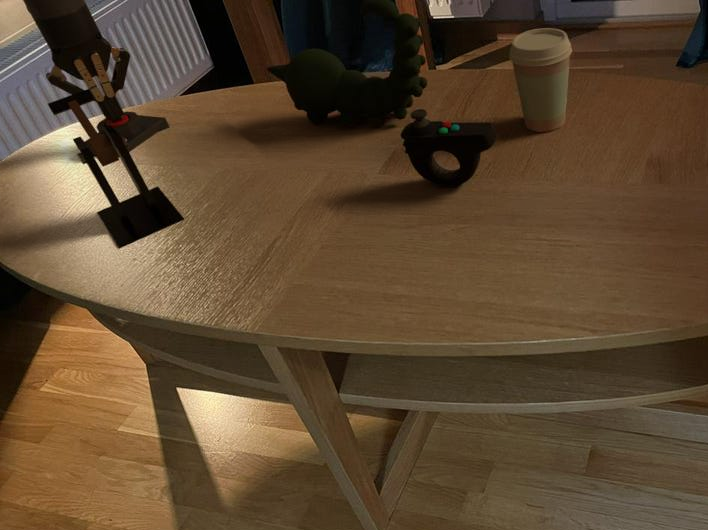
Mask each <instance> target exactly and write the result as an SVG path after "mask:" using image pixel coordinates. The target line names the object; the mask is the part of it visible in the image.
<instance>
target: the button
mask: <svg viewBox="0 0 708 530" xmlns="http://www.w3.org/2000/svg"><path fill="white" fill-rule="evenodd" d="M121 118H122V120H120V121H117V122H115V123H113V121H112V120H107V121H106V126H109V125H112V126H113V127H115V126H119V125H122V124H124V123H126V122H127V121H129V118H128V116H127V115H122V116H121Z"/></svg>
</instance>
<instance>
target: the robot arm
mask: <svg viewBox="0 0 708 530" xmlns="http://www.w3.org/2000/svg"><path fill="white" fill-rule="evenodd" d="M22 1H23V3H24V5H25V9H26V10H27V12H28V13H29V14H30V16H31V17H32V19H33V21H34V23H35V25H36V27H37V28H38V30H39V32H40V34H41V36H42V37H43V39H44V41H45V43H46V44H47V46H48V48H49V50H50V52H51V60H52V63H53V67H52V68H51V70H50V72H47V73H46V74H45V78H46V79H47V81H48V82H49V83H50V84H51V86H54V87H56V88H58V89H60V90H62V91H64V92H66V93H68V94H70V95H73V94H76V93H78V92H81V91H84V90H85V89H84V88H82V87H79V86H77V85H76V84H74V83H72V82H70V81H68V80H67V76H66V74H68V75H70V76H72V77H74V78H75V79H76V80H80V81H83V83H84V84H85V86H86V87H87V89H89V90H90V91H91V93H92V95H93V97H94V99H95V101H94V102H96V104H97V106H98V107H99V110H100V111H101V113H102V115H103V116H104V119H105V118H106V119H108V120H112V121H113V123H115V122H117V121H120V120H122V118H121V116H122V115H123V112H124V111H123V109H122V106H121V104H120V103H119V101H118V99H117V95H116V94H117V92H119V91H122V90H123V89H124V87H125V82H126V79H127V78H126V77H127V73H128V69H129V64H130V60H131V54H130V52H129V51H128V50H127V49H125V48H124V47H117V46H113V45H111V43H110V42H109V41H108V40H107V39H106V38H105V37H104V36H103V35H102V33H101V31H100V28H99V27H98V25H97V23H96V21H95V19H94V17H93V14H92V13H91V10H90V9H89V6H88V5H87V2H86V1H85V0H22ZM111 58H112V60H113V61H114V62H115V63H114V67H113V72H112V77H111V80H110V78H109V75H108V73H107V71H108V69H109V65H110V59H111ZM62 71H63V72H65V73H66V74H64V73H63V72H62ZM95 77H96V80H97V81H98V83H99V85H100V88H101V89H100V88H99V87H98V85H97V83H96V81H95V80H94V78H95ZM101 90H102V91H101ZM102 92H103V93H102Z"/></svg>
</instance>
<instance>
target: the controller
mask: <svg viewBox="0 0 708 530" xmlns="http://www.w3.org/2000/svg"><path fill="white" fill-rule="evenodd" d="M427 116H428V112H427V110H425V109H424V108H418V109H415V110H412V111H411V113H410V117H411V119H412V120H414V121H413V122H410V123H407V124H406V125H405V126H404V127H403V129H402V131H401V133H400V138H401V139H402V140H403V142H402V147H404V148H405V150H404V153H405V154H407V156H408V158H409V161H410V163H411V165H412V167H413V168H414V170H415V171H416V173H418V175H420V176H421V177H422V178H423V179H424V180H426V181H427V182H429V183H431V184H433V185H436V186H439V187H443V188H451V187H458V186H461V185H463V184H464V183H466V182H468V181H469V180H470V179H471V178H472V177H473V176H474V174H476V171H477V169H478V167H479V164H480V161H481V156H482V155H481V154H482V153H483V152H486V151H488V150H491V148H493V146H494V144H495V143H496V141H497V137H498V132H497V131H496V128H495V127H494V126H493V124H492V123H490V122H449V121H440V120H436V121H435V120H434V121H432V120H429V119H427V118H426V117H427ZM436 152H447V153H449V154H451V155H452V156H453V157H454V158H455V159H456V161H457V162H458V164H459V167H458V168H457V169H454V170H451V169H446V168H444V167H442V166H441V165H439V163H438V162H437V161H436V159H435V156H434V153H436Z"/></svg>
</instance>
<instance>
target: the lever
mask: <svg viewBox="0 0 708 530" xmlns="http://www.w3.org/2000/svg"><path fill="white" fill-rule="evenodd" d="M83 90H84V91H81V92H78V93H76V94H73V95H71V94H70V95H68V96H65V97H62V98H59V99H57V100H54V101H50V102H48V103H47V106H48V108H49V109H50V111H51V112H52V114H53V115H54V116H57V115H59V114H62V113H64V112H68V111H70V110H71V112H72V113H73V115H74V116H75V118H76V119H77V121H78V123H79V124H80V125H81V128H82V129H83V131H85V133H86V135H87V137H89V138H90V139H89V138H88V139H86V140H87V141H88V143H89V145H90V147H91V149H92V150H93V152H94V154H95V156H96V157H95V158H97V160H98V162H99V163H100V165H101V167H106V166H108V165H111V164H113V163H116V162H119V161H120V157H118V156H117V154H116V152H115V150H114V148H113V146H112V145H111V143H110V142H109V140H108V139H107V137H106V136H105V134H101V135H99V134H98V130H97V129H96V127H94V125H93V124H92V122H91V120H90V119H89V118H88V116H87V115H86V113H85V112H84V110H83V109H82V107H81V106H84V105H86V104H89V103H92V102H96V101H95V99H94V97H93V95H92V93H91V91H90V90H89V89H88V88H87V89H83Z"/></svg>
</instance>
